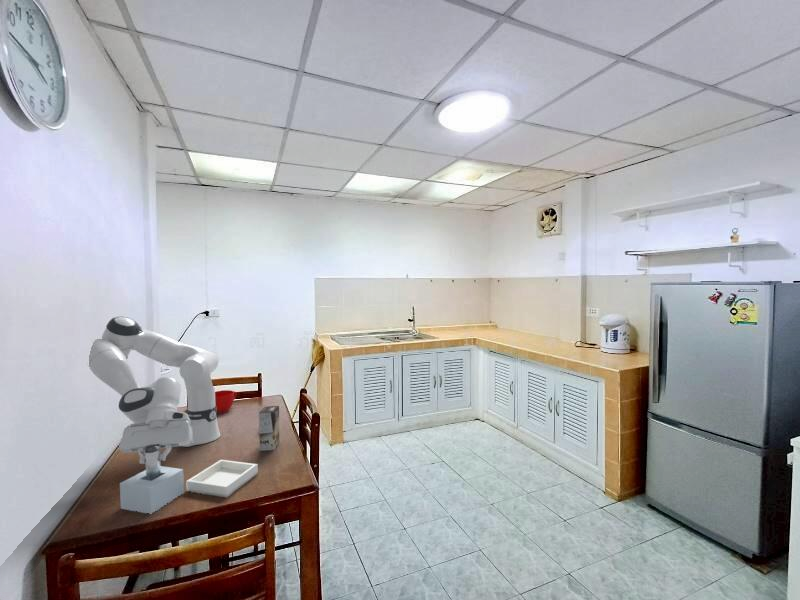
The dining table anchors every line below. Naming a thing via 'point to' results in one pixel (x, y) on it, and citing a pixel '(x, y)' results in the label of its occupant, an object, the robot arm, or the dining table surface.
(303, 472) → the dining table surface
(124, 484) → the socket block
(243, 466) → the tray
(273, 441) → the coffee box
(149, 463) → the steel pin
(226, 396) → the ceramic cup
